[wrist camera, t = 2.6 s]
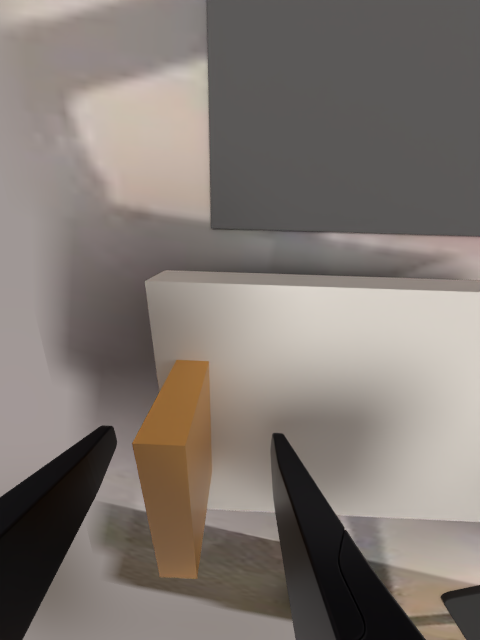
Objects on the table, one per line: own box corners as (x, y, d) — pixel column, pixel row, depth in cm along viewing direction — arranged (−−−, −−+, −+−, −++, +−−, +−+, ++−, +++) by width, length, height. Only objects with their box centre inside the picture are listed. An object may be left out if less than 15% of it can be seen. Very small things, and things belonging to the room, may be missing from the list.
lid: (452, 481, 13) (578, 637, 8) (184, 469, 14) (146, 614, 8) (566, 283, 9) (992, 357, 4) (165, 270, 9) (63, 323, 4)
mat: (579, 238, 12) (589, 239, 11) (212, 228, 12) (211, 228, 12) (906, -353, 6) (949, -390, 6) (202, -348, 6) (199, -384, 6)
